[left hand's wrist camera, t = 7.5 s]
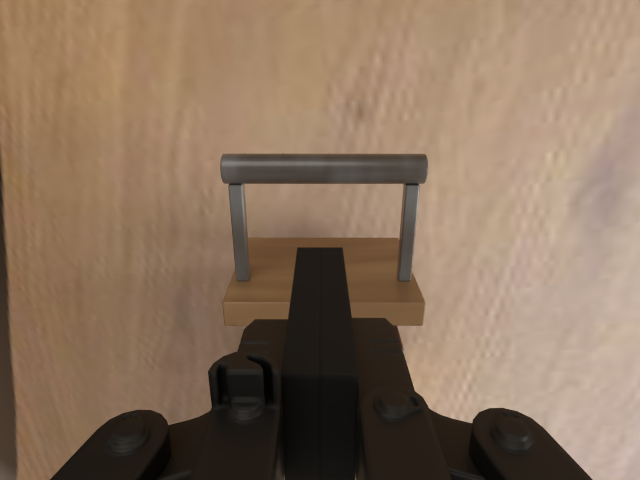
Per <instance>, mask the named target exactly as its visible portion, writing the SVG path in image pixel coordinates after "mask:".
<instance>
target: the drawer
mask: <svg viewBox="0 0 640 480" xmlns="http://www.w3.org/2000/svg"><path fill="white" fill-rule="evenodd" d="M220 169H221V178H222V181H223V183H225V184H229V186H228V187H229V199H230V211H231V223H232V235H233V247H234V259H235V272H234V274H233V277H232V280H231V282H230V285H229V287H228V290H227V292H226V295H225V298H224V300H223V303H222V304H223V314H224V324H225V325H249V324H250V323H251V322H252V321H254V320H255V319H288V315H289V308H290V300H291V292H292V285H293V277H294V269H295V262H296V254H297V247H343V254H344V262H345V269H346V277H347V285H348V292H349V300H350V308H351V315H352V318H386V319H387V320H388V321H389V322H390V323H391V324H392V325H393V326H394V327H395V328H396V330H397V333H398V337H399V340H400V343H401V347H402V350H403V345H402V342H401V338H400V335H399V331H398V328H397V326H422V325H423V321H424V312H425V301H424V298H423V296H422V294H421V291H420V289H419V286H418V284H417V282H416V279H415V277H414V275H413V272H412V263H413V253H414V242H415V231H416V220H417V210H418V199H419V188H420V186H419V184H424V183H425V182H426V179H427V174H428V160H427V156H426V155H425V154H223V155H222V157H221V164H220ZM244 184H404V188H403V200H402V213H401V226H400V239H398V238H248V233H247V218H246V204H245V189H244Z"/></svg>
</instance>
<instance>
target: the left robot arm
mask: <svg viewBox="0 0 640 480" xmlns="http://www.w3.org/2000/svg"><path fill="white" fill-rule="evenodd" d="M208 375H209V384H210V393H211V403H212V408H211V411H209V412H208V413H206V414H204V415H202V416H200V417H197V418H194V419H191V420H188V421H184V422H180V423H176V424H172V425H168V423H167V421H166V420H165V418H164V417H163V416H162V415H161V414H159V413H157V412H154V411H152V410H135V411H131V412H126V413H123V414H121V415H118V416H116V417H114V418H112V419H110V420H109V421H107V422H106V423H105V424H104V425H102V426H101V427H100V428H99V429H97V430H96V432H95V433H94V434H93V435H92V436H91V437H90V438H89V439H88V440H87V441H86V442H85V443H84V444H83V445H82V446H81V447H80V449H79V450H78V451H77V452H76V453H75V454H74V455H73V456H72V457H71V458H70V459H69V460H68V461H67V462H66V463H65V464H64V465H63V467H62V468H61V469H60V470H59V471H58V472H57V473H56V474H55V475H54V476H53V477H52V478H51V479H50V480H284V475H285V480H355V473H356V480H592V479H591V478H590V477H589V475H588V474H587V473H586V472H585V471H584V470H583V469H582V468H581V467H580V466H579V465H578V464H577V463H576V462H575V461H574V460H573V459H572V458H571V457H570V455H569V454H568V453H567V452H566V451H565V450H564V449H563V448H562V447H561V446H560V445H559V444H558V443H557V442H556V441H555V440H554V439H553V438H552V437H551V435H550V434H549V433H548V432H547V431H546V430H545V429H544V428H543V427H542V426H540V425H539V424H538V423H537V422H535V421H534V420H533V419H532V418H530V417H528V416H526V415H524V414H522V413H519V412H517V411H513V410H509V409H505V408H489V409H487V410H484V411H482V412H479V413H478V414H477V416H476V417H475V418H474V419H473V423H468V422H463V421H459V420H455V419H451V418H448V417H445V416H442V415H440V414H438V413H436V412H434V411H432V410H430V409H429V408H428V405H427V404H426V402H425V400H424V399H423V397H422V396H420V395H419V394H418V393H416V392H415V390H414V387H413V384H412V380H411V377H410V374H409V370H408V367H407V364H406V360H405V357H404V354H403V350H402V347H401V343H400V340H399V337H398V333H397V330H396V328H395V327H394V326H393V325H392V324H391V323H390V322H389V321H388V320H387V319H386V318H352V315H351V308H350V300H349V292H348V285H347V277H346V269H345V262H344V254H343V247H297V254H296V262H295V269H294V277H293V285H292V292H291V300H290V308H289V315H288V319H255V320H254V321H252V322H251V323H250V324H249V325H248V326H247V327H246V328H245V329H244V332H243V335H242V339H241V344H240V345H239V349H238V352H234V353H232V354H229V355H226V356H223V357H222V358H220V359H219V360H218V361H216V362H215V363H214V364H213V365H212V367H211V368H210V369H209V371H208Z"/></svg>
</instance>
